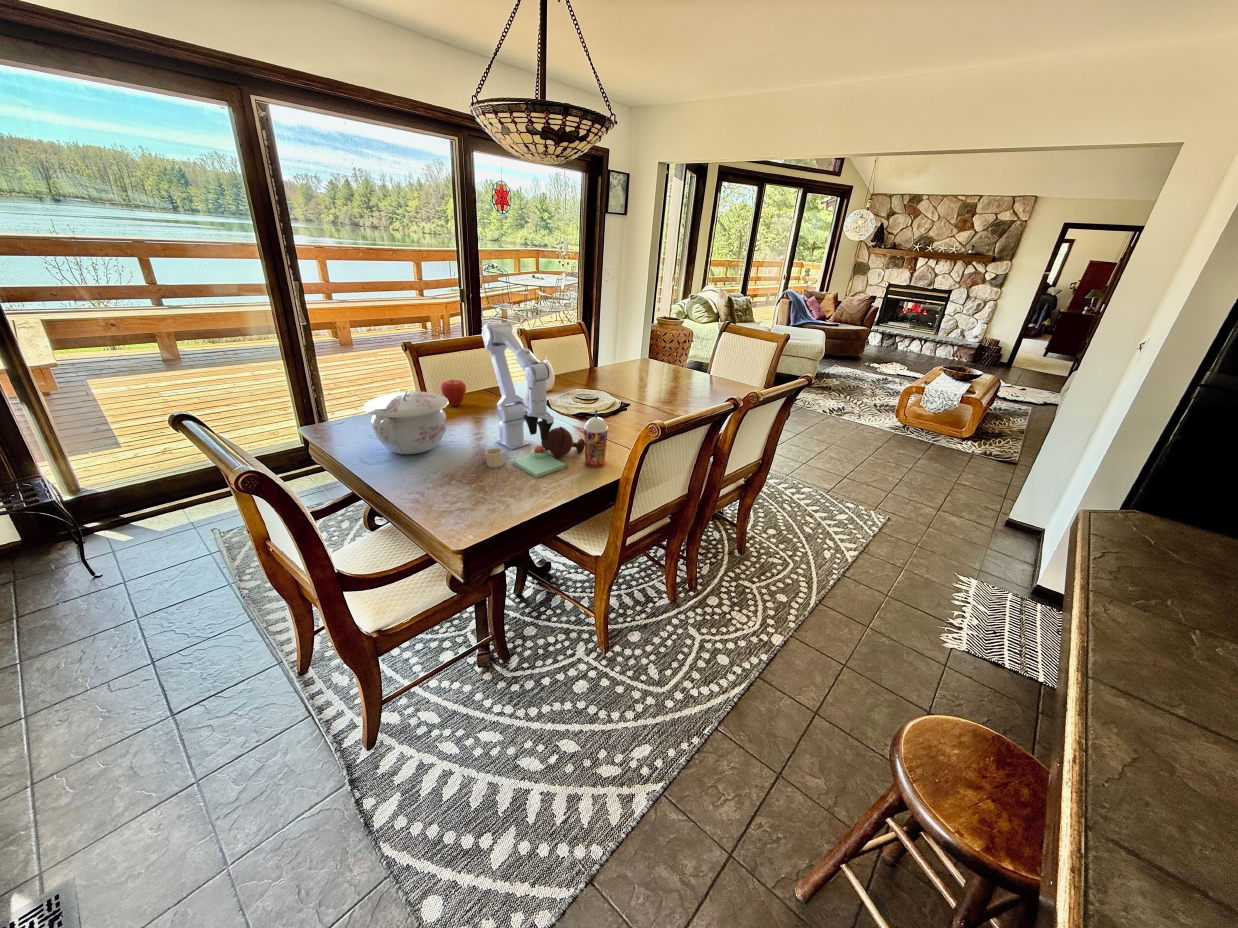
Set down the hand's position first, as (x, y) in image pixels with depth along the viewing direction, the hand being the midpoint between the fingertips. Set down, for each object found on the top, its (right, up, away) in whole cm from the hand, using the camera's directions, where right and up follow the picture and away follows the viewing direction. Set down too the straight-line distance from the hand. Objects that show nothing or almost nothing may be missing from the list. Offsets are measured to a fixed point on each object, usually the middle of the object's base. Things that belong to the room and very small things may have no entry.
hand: (538, 436), depth 167 cm
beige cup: (-15, -10, -2) cm, 18 cm away
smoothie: (+19, -10, +2) cm, 22 cm away
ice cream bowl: (+14, -3, +9) cm, 17 cm away
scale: (0, -10, -1) cm, 10 cm away
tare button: (0, -5, +2) cm, 6 cm away
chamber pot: (-47, -3, +8) cm, 48 cm away
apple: (-47, +17, +51) cm, 71 cm away
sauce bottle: (-9, +28, +78) cm, 83 cm away
